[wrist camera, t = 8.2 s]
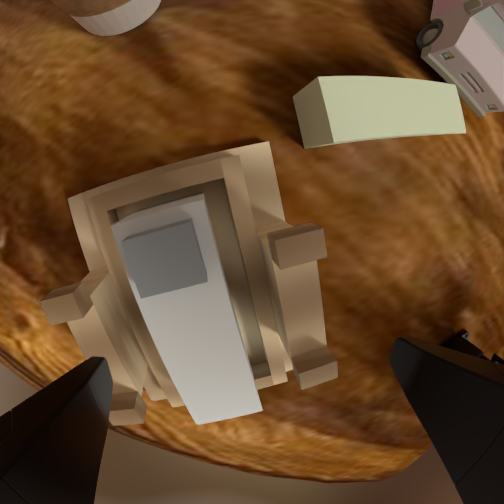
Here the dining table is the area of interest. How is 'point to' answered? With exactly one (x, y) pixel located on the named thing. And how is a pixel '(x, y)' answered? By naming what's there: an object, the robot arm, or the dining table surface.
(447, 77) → the toy vehicle
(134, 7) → the coffee cup
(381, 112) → the pale green rectangular block
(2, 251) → the dining table surface
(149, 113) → the dining table surface
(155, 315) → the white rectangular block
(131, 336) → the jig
